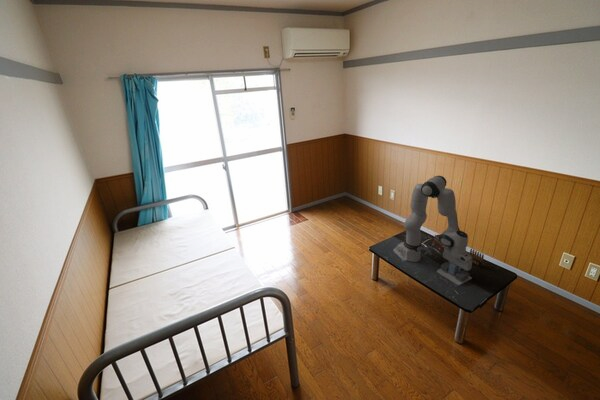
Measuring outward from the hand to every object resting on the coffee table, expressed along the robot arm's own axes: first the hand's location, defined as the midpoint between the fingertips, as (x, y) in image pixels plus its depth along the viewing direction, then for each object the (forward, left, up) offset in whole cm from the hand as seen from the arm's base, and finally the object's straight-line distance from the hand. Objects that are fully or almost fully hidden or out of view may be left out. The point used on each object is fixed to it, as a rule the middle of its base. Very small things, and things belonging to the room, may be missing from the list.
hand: (454, 268), depth 204 cm
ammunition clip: (0, +24, -6) cm, 25 cm away
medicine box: (-28, +24, -6) cm, 37 cm away
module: (0, 0, -3) cm, 3 cm away
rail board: (0, 0, -6) cm, 6 cm away
